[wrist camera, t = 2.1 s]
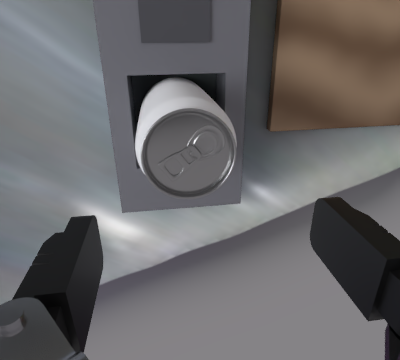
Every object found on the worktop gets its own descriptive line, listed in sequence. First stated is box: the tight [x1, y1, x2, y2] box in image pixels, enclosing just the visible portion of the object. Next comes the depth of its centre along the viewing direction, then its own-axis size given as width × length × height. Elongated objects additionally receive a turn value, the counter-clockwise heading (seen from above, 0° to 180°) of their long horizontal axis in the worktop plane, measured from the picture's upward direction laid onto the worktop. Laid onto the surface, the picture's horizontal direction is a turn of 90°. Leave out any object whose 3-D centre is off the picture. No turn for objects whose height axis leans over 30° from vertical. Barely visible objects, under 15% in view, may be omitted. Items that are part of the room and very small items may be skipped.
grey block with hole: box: [93, 0, 251, 213], centre depth 24 cm, size 24×11×5 cm, turn 1°
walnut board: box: [267, 0, 400, 132], centre depth 27 cm, size 16×16×1 cm
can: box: [135, 77, 237, 199], centre depth 23 cm, size 6×6×12 cm
